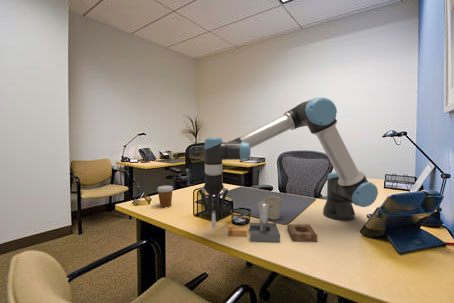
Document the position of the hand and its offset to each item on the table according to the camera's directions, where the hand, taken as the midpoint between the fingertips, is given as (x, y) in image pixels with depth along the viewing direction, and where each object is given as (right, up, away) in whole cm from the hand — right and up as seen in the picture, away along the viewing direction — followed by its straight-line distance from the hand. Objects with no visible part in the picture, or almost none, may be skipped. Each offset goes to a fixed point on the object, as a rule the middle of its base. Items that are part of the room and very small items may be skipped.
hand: (214, 226), depth 98 cm
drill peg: (+22, -3, -1) cm, 22 cm away
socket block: (+22, -3, -1) cm, 22 cm away
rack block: (+38, -3, -2) cm, 38 cm away
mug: (+28, -2, +19) cm, 34 cm away
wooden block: (+10, -3, 0) cm, 11 cm away
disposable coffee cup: (-32, -1, +38) cm, 50 cm away
